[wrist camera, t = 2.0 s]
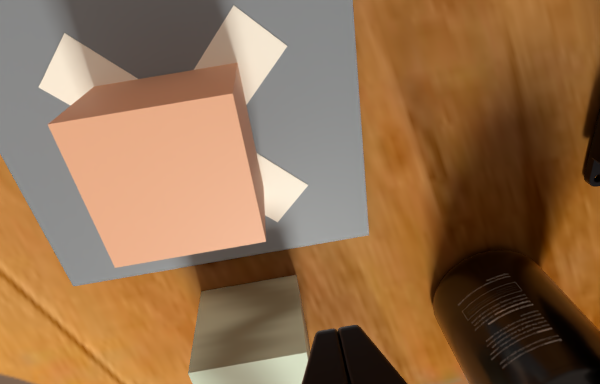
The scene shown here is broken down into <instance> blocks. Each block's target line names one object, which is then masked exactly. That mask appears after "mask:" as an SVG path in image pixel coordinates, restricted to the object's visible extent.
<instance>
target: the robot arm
mask: <svg viewBox="0 0 600 384" xmlns="http://www.w3.org/2000/svg"><path fill="white" fill-rule="evenodd" d="M596 176H597V177H596ZM595 177H596V178H595ZM584 180H585V181H586V182H587V183H588V184H590V185H591V186H600V110H599V114H598V119H597V123H596V128H595V132H594V136H593V141H592V145H591V149H590V154H589V158H588V162H587V167H586V171H585V176H584ZM302 384H407V383H406V382H405V380H404V379H403V378H402V377H401V376H400V374H399V373H398V372H397V371H396V370H395V368H394V367H393V366H392V365H391V364H390V362H389V361H388V360H387V359H386V358H385V356H384V355H383V354H382V353H381V352H380V350H379V349H378V348H377V347H376V345H375V344H374V343H373V342H372V341H371V339H370V338H369V337H368V336H367V335H366V333H365V332H364V331H363V330H362V329H361V328H360V327H359V326H358V325H351V326H345V327H341V328H339V329H338V332H337V330H336V329H328V330H322V331H318V332H317V333H316V334H315V337H314V341H313V344H312V348H311V352H310V355H309V359H308V362H307V366H306V370H305V373H304V377H303V380H302Z"/></svg>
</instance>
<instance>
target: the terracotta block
mask: <svg viewBox="0 0 600 384" xmlns="http://www.w3.org/2000/svg"><path fill="white" fill-rule="evenodd" d="M48 127H49V129H50V131H51V133H52V135H53V137H54V139H55V141H56V144H57V146H58V148H59V150H60V152H61V154H62V156H63V158H64V161H65V163H66V165H67V167H68V169H69V171H70V173H71V175H72V178H73V180H74V182H75V184H76V186H77V188H78V190H79V192H80V195H81V197H82V199H83V201H84V203H85V205H86V207H87V209H88V212H89V214H90V216H91V218H92V220H93V222H94V224H95V226H96V229H97V231H98V233H99V235H100V237H101V239H102V241H103V243H104V246H105V248H106V250H107V252H108V254H109V256H110V258H111V260H112V263H113V265H114V267H115V268H117V267H123V266H129V265H135V264H140V263H146V262H152V261H158V260H164V259H169V258H175V257H181V256H187V255H192V254H198V253H204V252H210V251H216V250H221V249H227V248H233V247H239V246H245V245H250V244H256V243H262V242H266V227H265V205H264V186H263V181H262V177H261V172H260V167H259V162H258V158H257V153H256V148H255V144H254V139H253V134H252V129H251V125H250V120H249V115H248V111H247V106H246V101H245V96H244V92H243V87H242V82H241V77H240V73H239V68H238V63H232V64H226V65H220V66H214V67H208V68H202V69H196V70H190V71H184V72H178V73H172V74H166V75H160V76H154V77H148V78H142V79H136V80H130V81H124V82H118V83H112V84H106V85H100V86H94V87H93V88H92V89H90V90H89V91H88V92H87V93H85V94H84V95H83V96H82V97H81V98H79V99H78V100H77V101H76V102H74V103H73V104H72V105H71V106H70V107H68V108H67V109H66V110H65V111H63V112H62V113H61V114H60V115H59V116H57V117H56V118H55V119H54V120H52V121H51V122H50V123H49V124H48Z"/></svg>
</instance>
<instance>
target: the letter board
mask: <svg viewBox="0 0 600 384" xmlns="http://www.w3.org/2000/svg"><path fill="white" fill-rule="evenodd" d="M232 63H238V68H239V73H240V77H241V82H242V87H243V92H244V96H245V101H246V106H247V111H248V115H249V120H250V125H251V129H252V134H253V139H254V144H255V148H256V153H257V158H258V162H259V167H260V172H261V177H262V181H263V186H264V205H265V227H266V242H262V243H256V244H250V245H245V246H239V247H233V248H227V249H221V250H216V251H210V252H204V253H198V254H192V255H187V256H181V257H175V258H169V259H164V260H158V261H152V262H146V263H140V264H135V265H129V266H123V267H117V268H115V267H114V265H113V263H112V260H111V258H110V256H109V254H108V252H107V250H106V248H105V246H104V243H103V241H102V239H101V237H100V235H99V233H98V231H97V229H96V226H95V224H94V222H93V220H92V218H91V216H90V214H89V212H88V209H87V207H86V205H85V203H84V201H83V199H82V197H81V195H80V192H79V190H78V188H77V186H76V184H75V182H74V180H73V178H72V175H71V173H70V171H69V169H68V167H67V165H66V163H65V161H64V158H63V156H62V154H61V152H60V150H59V148H58V146H57V144H56V141H55V139H54V137H53V135H52V133H51V131H50V129H49V127H48V124H49V123H50V122H51V121H52V120H54V119H55V118H56V117H57V116H59V115H60V114H61V113H62V112H63V111H65V110H66V109H67V108H68V107H70V106H71V105H72V104H73V103H74V102H76V101H77V100H78V99H79V98H81V97H82V96H83V95H84V94H85V93H87V92H88V91H89V90H90V89H92V88H93V87H94V86H100V85H106V84H112V83H118V82H124V81H130V80H136V79H142V78H148V77H154V76H160V75H166V74H172V73H178V72H184V71H190V70H196V69H202V68H208V67H214V66H220V65H226V64H232ZM0 154H1V156H2V158H3V160H4V161H5V163H6V165H7V167H8V169H9V170H10V172H11V174H12V176H13V178H14V180H15V181H16V183H17V185H18V187H19V189H20V190H21V192H22V194H23V196H24V198H25V200H26V201H27V203H28V205H29V207H30V209H31V210H32V212H33V214H34V216H35V218H36V219H37V221H38V223H39V225H40V227H41V229H42V230H43V232H44V234H45V236H46V238H47V239H48V241H49V243H50V245H51V247H52V248H53V250H54V252H55V254H56V256H57V258H58V259H59V261H60V263H61V265H62V267H63V268H64V270H65V272H66V274H67V276H68V277H69V279H70V281H71V283H72V285H73V286H78V285H84V284H90V283H95V282H101V281H107V280H113V279H119V278H124V277H130V276H136V275H142V274H147V273H153V272H159V271H165V270H171V269H176V268H182V267H188V266H194V265H199V264H205V263H211V262H217V261H222V260H228V259H234V258H240V257H246V256H251V255H257V254H263V253H269V252H274V251H280V250H286V249H292V248H298V247H303V246H309V245H315V244H321V243H326V242H332V241H338V240H344V239H350V238H355V237H361V236H367V235H369V228H368V214H367V199H366V185H365V171H364V157H363V142H362V128H361V114H360V100H359V86H358V71H357V57H356V43H355V29H354V15H353V0H0Z"/></svg>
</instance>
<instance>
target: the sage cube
mask: <svg viewBox="0 0 600 384" xmlns="http://www.w3.org/2000/svg"><path fill="white" fill-rule="evenodd" d="M309 355H310V345H309V339H308V334H307V328H306V323H305V318H304V312H303V307H302V302H301V297H300V291H299V286H298V281H297V276H296V275H292V276H287V277H281V278H275V279H270V280H264V281H258V282H252V283H247V284H241V285H235V286H229V287H224V288H218V289H212V290H206V291H201V297H200V303H199V309H198V315H197V322H196V328H195V334H194V340H193V347H192V353H191V359H190V365H189V372H188V374H189V376H190V379H191V381H192V383H193V384H302V380H303V377H304V373H305V370H306V366H307V362H308V359H309Z"/></svg>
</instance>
